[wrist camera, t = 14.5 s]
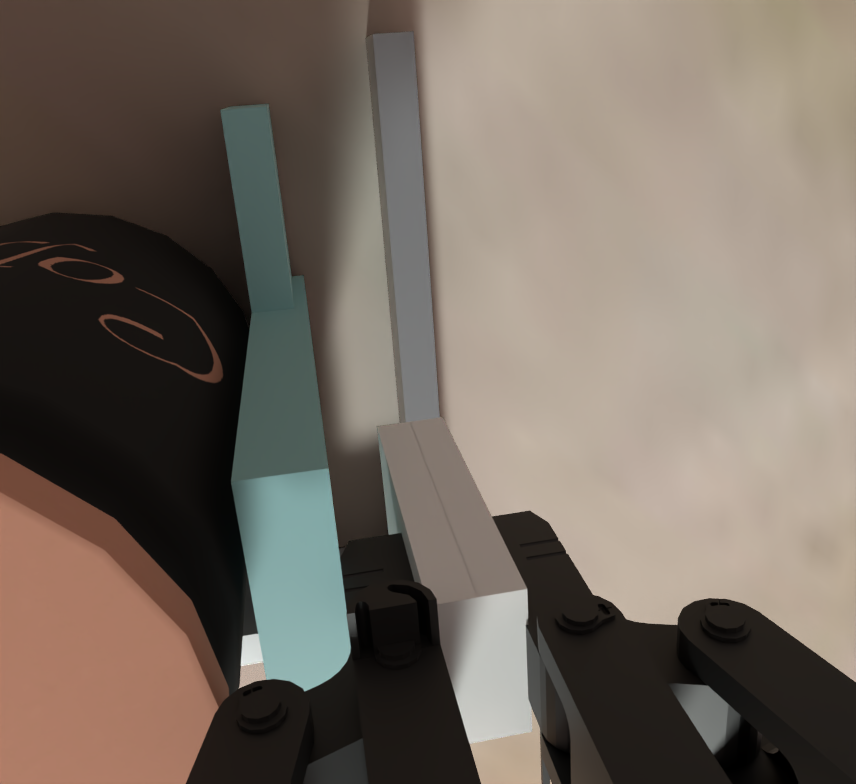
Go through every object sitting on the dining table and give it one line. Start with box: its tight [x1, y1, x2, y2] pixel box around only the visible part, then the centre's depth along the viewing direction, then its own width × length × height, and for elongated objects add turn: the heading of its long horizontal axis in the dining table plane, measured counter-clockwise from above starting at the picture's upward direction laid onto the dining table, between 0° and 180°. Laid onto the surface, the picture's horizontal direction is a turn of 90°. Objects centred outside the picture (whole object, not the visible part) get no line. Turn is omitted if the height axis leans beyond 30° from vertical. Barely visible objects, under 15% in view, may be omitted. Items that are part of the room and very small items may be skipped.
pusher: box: [220, 104, 351, 691], centre depth 21 cm, size 16×2×15 cm, turn 4°
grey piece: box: [241, 31, 440, 666], centre depth 25 cm, size 19×25×4 cm
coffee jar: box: [0, 213, 250, 784], centre depth 19 cm, size 11×11×18 cm
